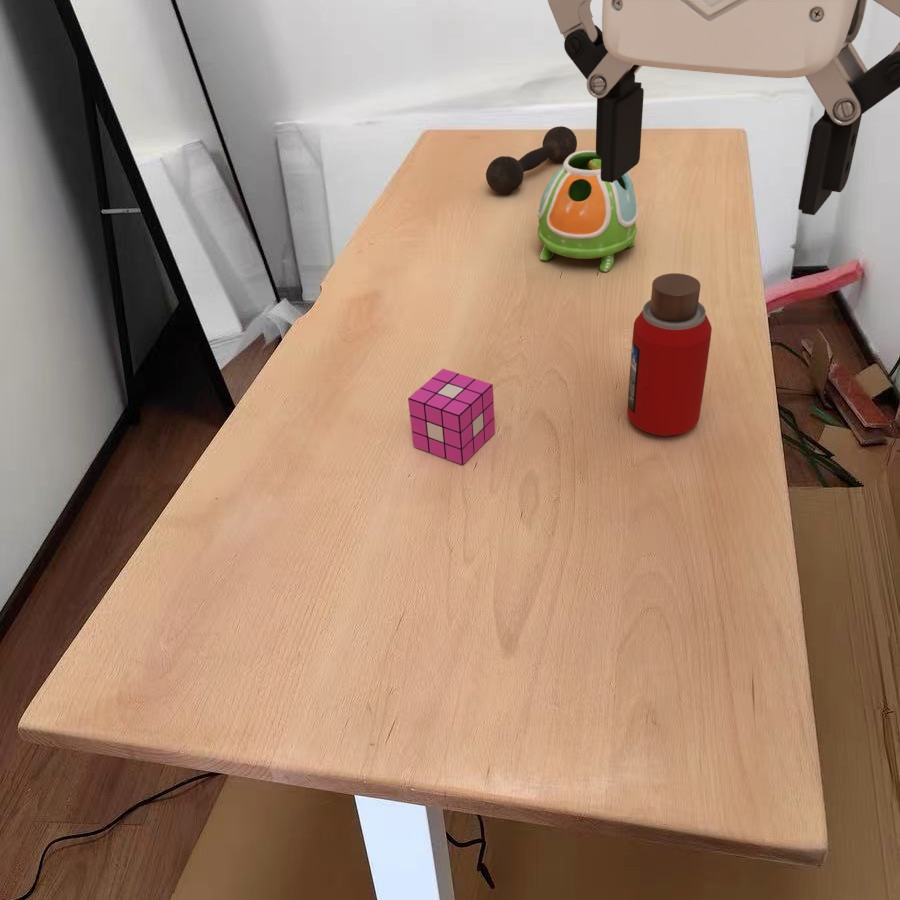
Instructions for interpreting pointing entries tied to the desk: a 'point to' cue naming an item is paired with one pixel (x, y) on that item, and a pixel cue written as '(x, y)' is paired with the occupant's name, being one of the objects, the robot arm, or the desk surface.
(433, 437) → the puzzle toy
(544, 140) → the dumbbell
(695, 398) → the beverage can
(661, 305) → the dark brown cylinder
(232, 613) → the desk surface
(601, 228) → the turtle holder
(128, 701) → the desk surface
